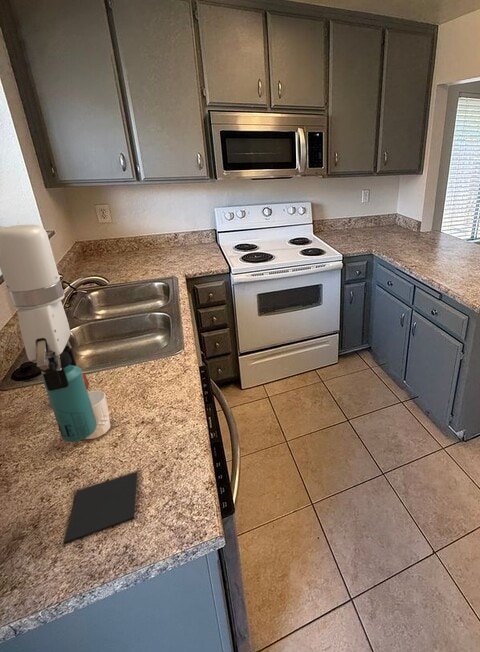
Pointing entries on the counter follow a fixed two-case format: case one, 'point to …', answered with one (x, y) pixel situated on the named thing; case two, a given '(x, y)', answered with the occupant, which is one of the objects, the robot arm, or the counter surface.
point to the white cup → (99, 413)
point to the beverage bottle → (72, 404)
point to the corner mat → (102, 506)
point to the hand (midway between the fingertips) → (63, 377)
